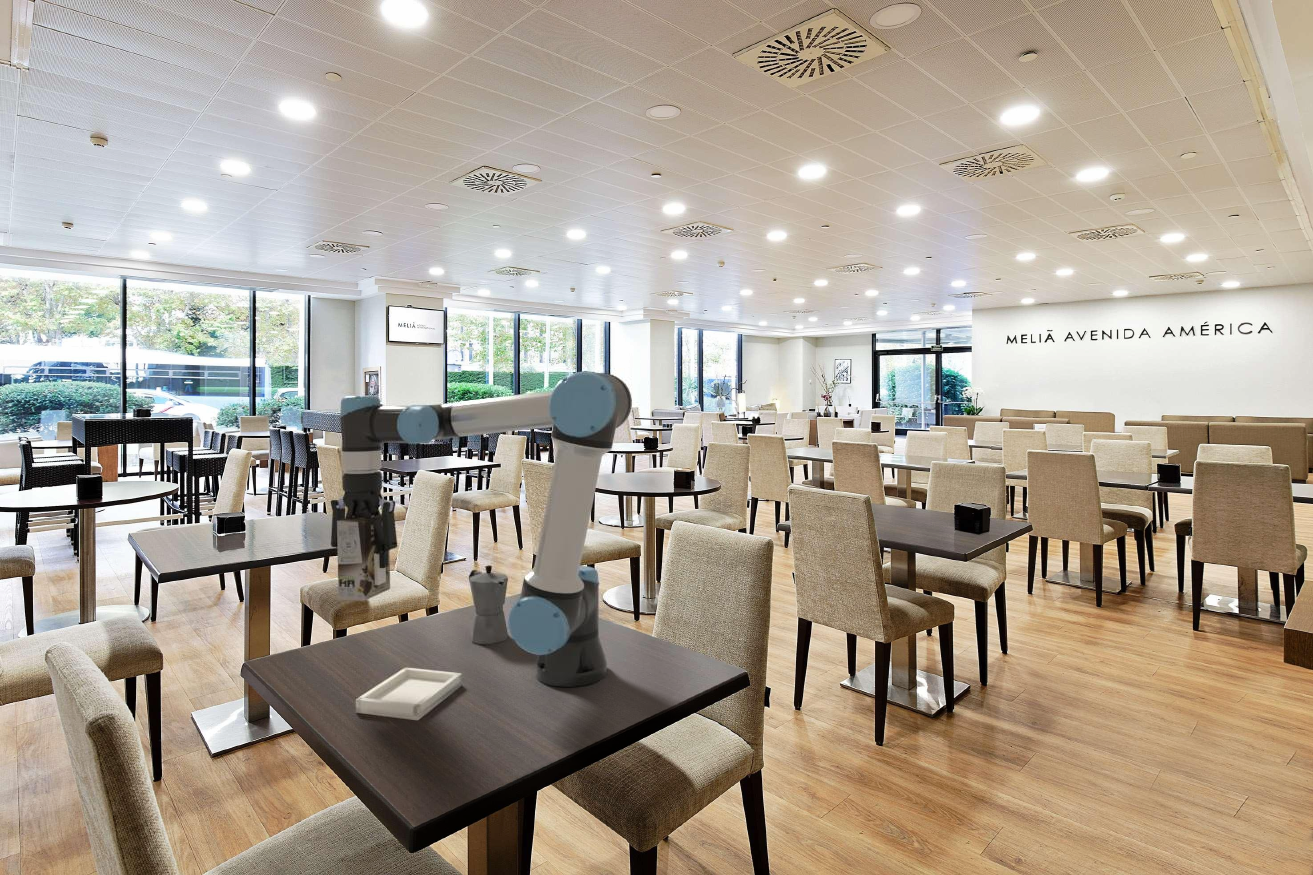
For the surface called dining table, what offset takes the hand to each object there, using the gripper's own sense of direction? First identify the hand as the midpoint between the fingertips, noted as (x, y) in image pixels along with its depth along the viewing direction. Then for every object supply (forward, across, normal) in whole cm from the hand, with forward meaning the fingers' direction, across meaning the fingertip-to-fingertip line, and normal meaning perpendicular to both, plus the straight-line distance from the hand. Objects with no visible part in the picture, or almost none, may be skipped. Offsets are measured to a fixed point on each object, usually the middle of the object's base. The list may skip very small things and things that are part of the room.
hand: (365, 582), depth 146 cm
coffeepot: (+21, -12, -30) cm, 39 cm away
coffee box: (+3, 0, 0) cm, 3 cm away
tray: (+21, -14, +6) cm, 26 cm away
